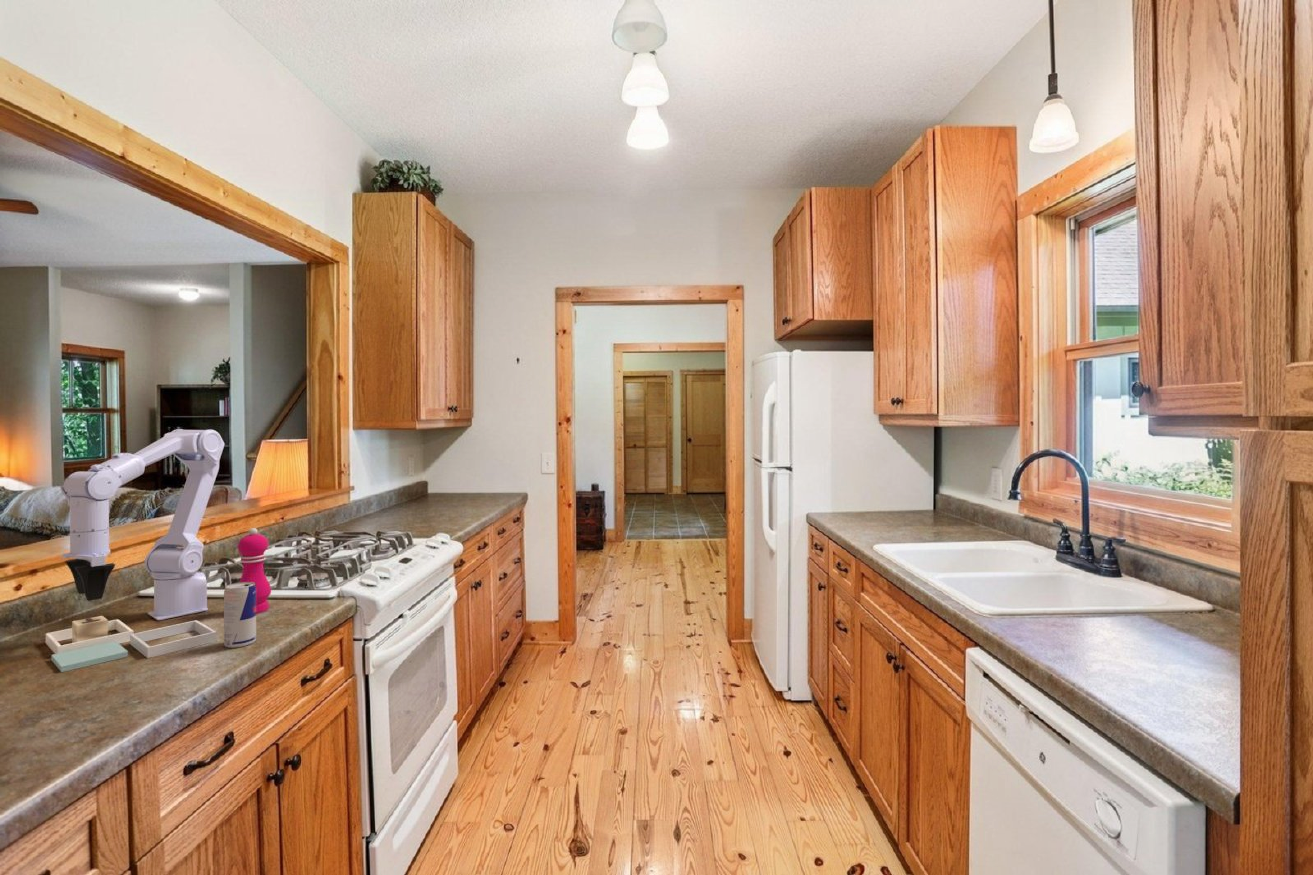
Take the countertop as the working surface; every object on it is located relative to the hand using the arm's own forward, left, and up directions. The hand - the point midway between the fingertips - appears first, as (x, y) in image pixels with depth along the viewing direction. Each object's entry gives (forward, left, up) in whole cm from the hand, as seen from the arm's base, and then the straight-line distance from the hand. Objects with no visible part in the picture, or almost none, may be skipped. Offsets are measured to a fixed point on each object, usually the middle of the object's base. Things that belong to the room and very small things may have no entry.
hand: (89, 596), depth 118 cm
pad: (+2, +12, -9) cm, 15 cm away
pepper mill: (-28, +3, -10) cm, 30 cm away
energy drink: (-18, +25, -10) cm, 32 cm away
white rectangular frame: (-10, +14, -9) cm, 20 cm away
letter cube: (0, 0, -10) cm, 10 cm away
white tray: (0, 0, -9) cm, 9 cm away
